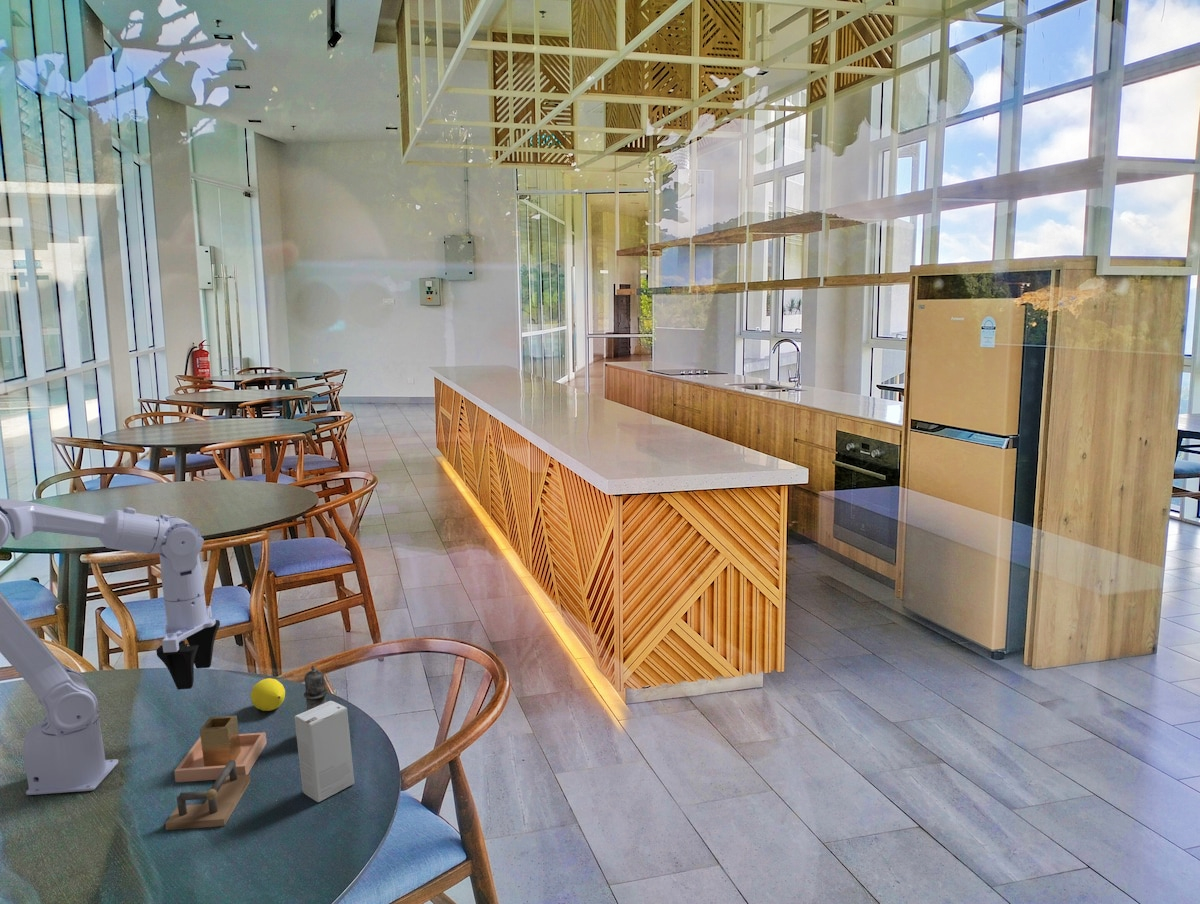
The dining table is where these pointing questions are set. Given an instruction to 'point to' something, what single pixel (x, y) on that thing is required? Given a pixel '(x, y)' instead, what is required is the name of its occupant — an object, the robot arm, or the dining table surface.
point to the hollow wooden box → (220, 740)
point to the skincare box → (324, 750)
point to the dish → (196, 771)
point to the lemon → (267, 694)
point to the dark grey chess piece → (314, 689)
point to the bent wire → (210, 802)
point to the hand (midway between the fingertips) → (194, 677)
